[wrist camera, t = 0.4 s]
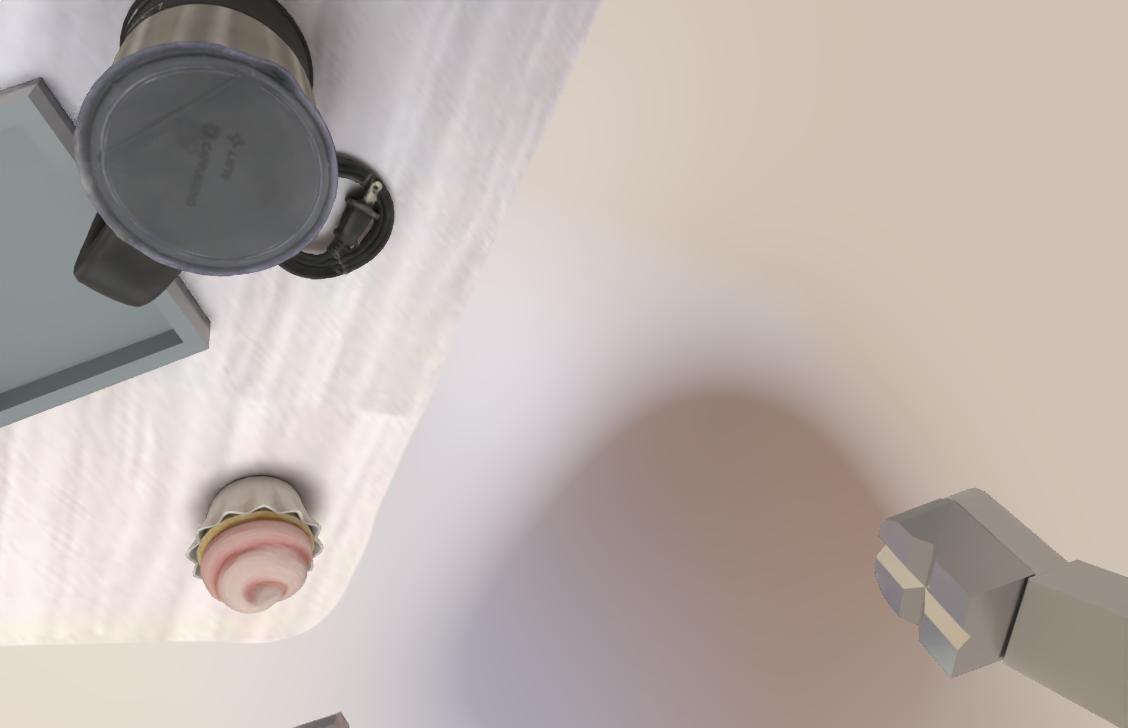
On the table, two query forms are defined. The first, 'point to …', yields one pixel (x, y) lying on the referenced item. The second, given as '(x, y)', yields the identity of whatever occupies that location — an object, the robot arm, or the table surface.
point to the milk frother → (213, 154)
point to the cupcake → (255, 544)
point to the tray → (66, 276)
